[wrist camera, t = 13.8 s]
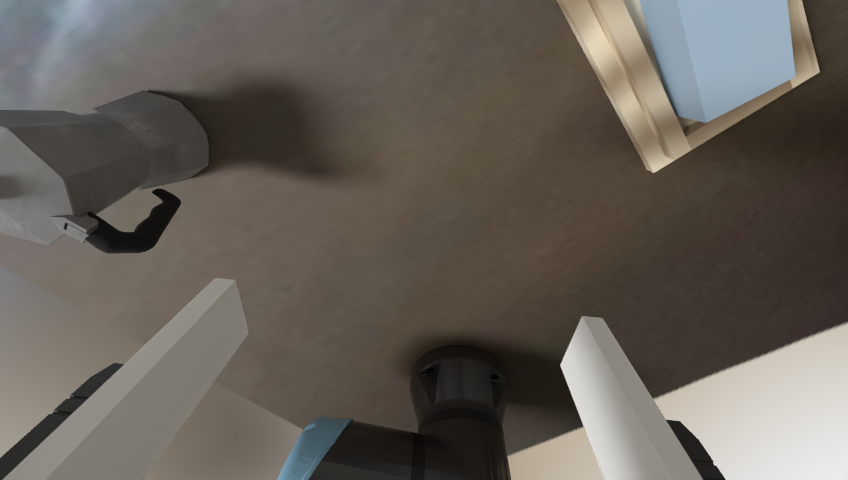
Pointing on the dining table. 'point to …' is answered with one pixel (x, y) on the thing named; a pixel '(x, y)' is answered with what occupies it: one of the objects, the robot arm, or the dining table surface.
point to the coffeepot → (95, 169)
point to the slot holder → (641, 82)
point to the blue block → (718, 52)
